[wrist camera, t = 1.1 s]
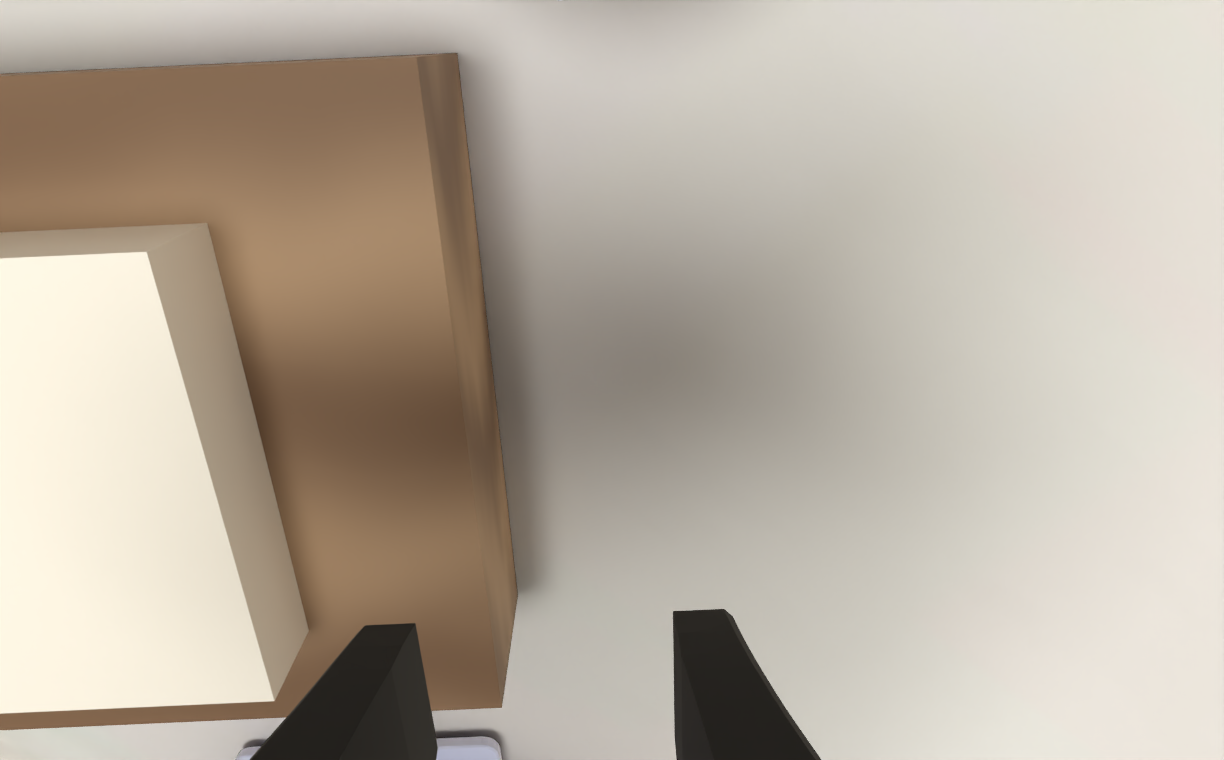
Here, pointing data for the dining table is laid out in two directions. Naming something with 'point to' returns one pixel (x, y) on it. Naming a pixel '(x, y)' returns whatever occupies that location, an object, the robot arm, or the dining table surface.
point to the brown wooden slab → (316, 327)
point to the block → (133, 482)
